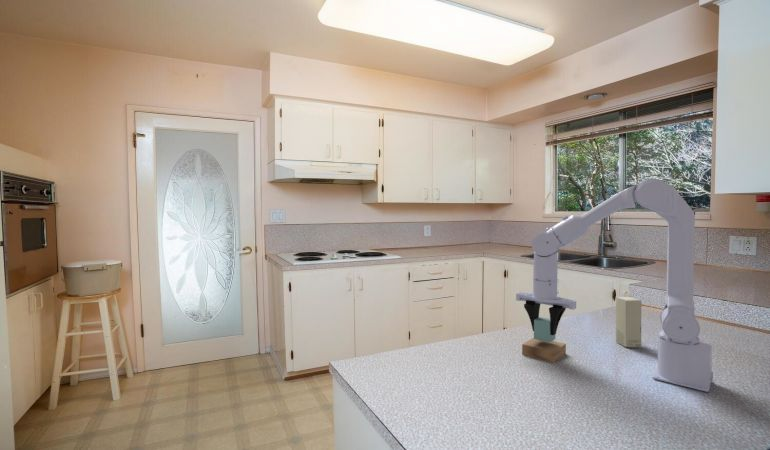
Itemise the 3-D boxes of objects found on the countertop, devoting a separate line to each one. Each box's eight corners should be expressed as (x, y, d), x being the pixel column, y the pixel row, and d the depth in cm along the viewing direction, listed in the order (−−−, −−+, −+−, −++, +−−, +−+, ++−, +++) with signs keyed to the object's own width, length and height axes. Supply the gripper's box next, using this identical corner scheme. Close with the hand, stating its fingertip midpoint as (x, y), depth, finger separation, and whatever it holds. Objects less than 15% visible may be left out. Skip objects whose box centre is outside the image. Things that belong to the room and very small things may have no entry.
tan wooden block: (565, 355, 99) (565, 343, 99) (553, 364, 94) (554, 351, 94) (535, 347, 105) (535, 336, 105) (522, 355, 99) (522, 344, 99)
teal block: (555, 338, 100) (555, 319, 99) (549, 342, 97) (549, 322, 97) (539, 335, 102) (540, 316, 102) (533, 338, 99) (534, 319, 99)
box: (641, 348, 104) (643, 300, 103) (625, 348, 104) (626, 300, 103) (629, 341, 109) (630, 296, 109) (614, 341, 109) (615, 296, 109)
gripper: (580, 281, 97) (579, 334, 97) (524, 274, 107) (523, 323, 107) (571, 284, 92) (570, 341, 92) (512, 277, 102) (512, 329, 102)
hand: (544, 332), depth 99 cm, fingers closed on teal block, 4 cm apart
